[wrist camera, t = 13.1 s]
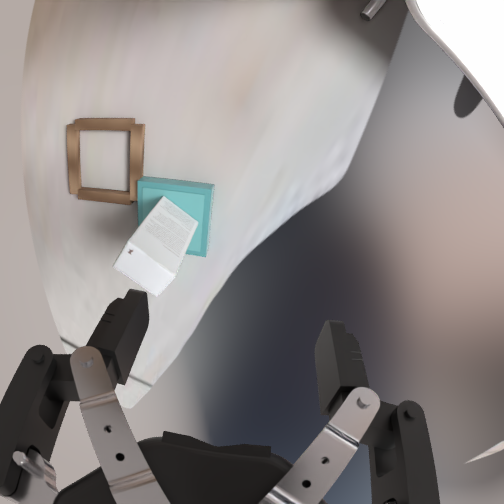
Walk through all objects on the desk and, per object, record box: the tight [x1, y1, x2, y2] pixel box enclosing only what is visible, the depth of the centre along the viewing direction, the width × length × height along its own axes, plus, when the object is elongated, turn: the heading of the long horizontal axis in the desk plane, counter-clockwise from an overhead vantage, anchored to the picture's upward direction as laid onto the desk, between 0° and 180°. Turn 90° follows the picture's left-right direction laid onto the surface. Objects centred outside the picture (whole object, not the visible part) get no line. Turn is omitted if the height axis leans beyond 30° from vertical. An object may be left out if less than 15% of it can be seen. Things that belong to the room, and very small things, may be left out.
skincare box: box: [113, 196, 198, 297], centre depth 34 cm, size 6×4×12 cm
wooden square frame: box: [67, 118, 145, 205], centre depth 37 cm, size 12×12×1 cm
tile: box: [138, 176, 214, 257], centre depth 40 cm, size 10×10×2 cm
